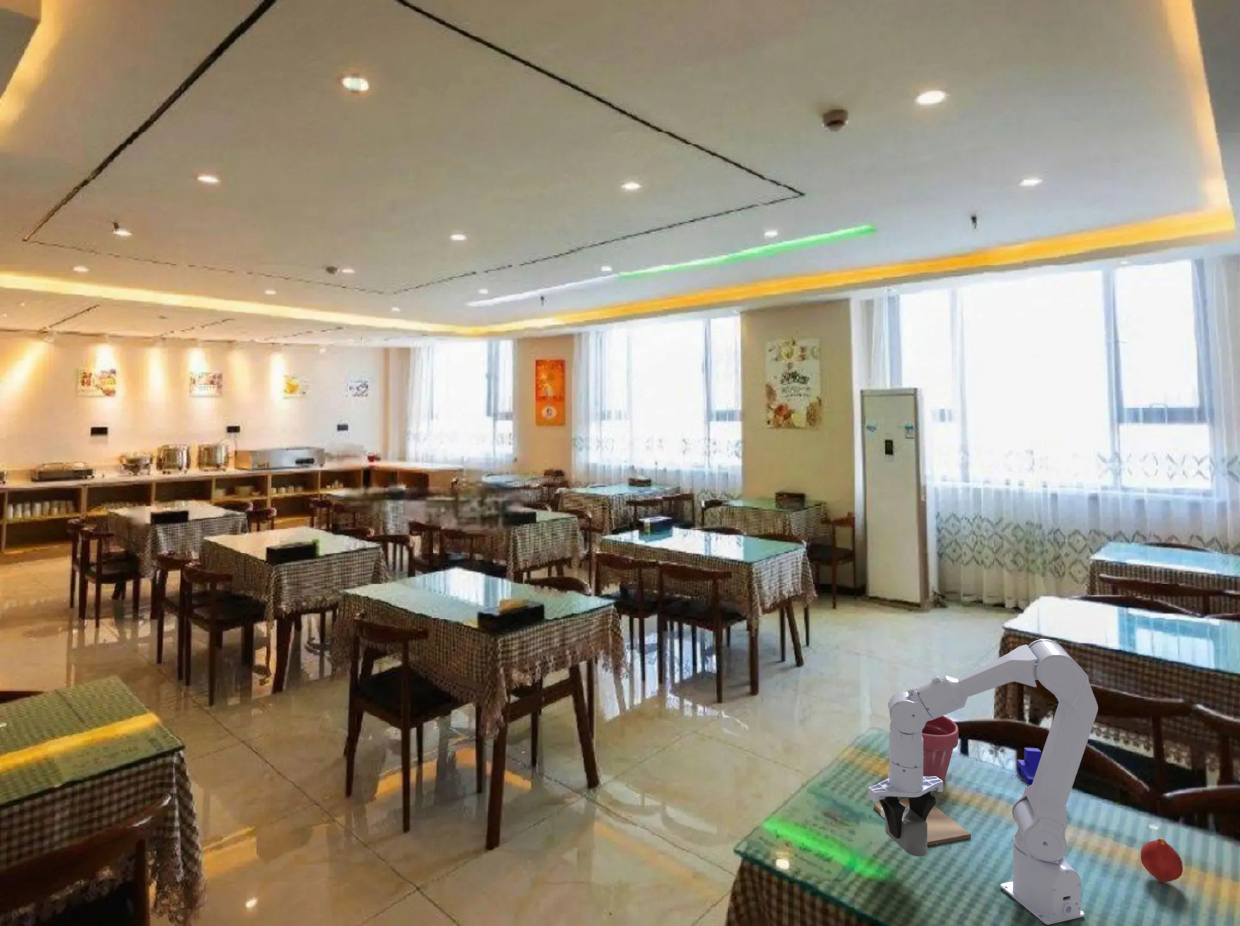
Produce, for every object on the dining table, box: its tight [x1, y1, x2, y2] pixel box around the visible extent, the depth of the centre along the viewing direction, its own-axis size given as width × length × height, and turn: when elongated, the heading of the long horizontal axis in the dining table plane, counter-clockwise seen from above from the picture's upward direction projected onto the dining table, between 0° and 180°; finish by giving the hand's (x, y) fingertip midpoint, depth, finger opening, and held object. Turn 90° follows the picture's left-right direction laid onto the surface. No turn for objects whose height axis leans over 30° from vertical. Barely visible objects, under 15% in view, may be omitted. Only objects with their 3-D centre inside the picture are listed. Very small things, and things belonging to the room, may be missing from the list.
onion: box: [1140, 837, 1184, 884], centre depth 115 cm, size 6×6×8 cm
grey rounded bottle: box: [880, 802, 928, 857], centre depth 118 cm, size 10×4×5 cm, turn 14°
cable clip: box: [1016, 747, 1042, 786], centre depth 146 cm, size 12×4×6 cm, turn 170°
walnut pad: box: [873, 798, 972, 846], centre depth 133 cm, size 14×12×1 cm
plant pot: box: [922, 715, 959, 782], centre depth 152 cm, size 14×14×13 cm
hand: (905, 833), depth 118 cm, fingers closed on grey rounded bottle, 4 cm apart
